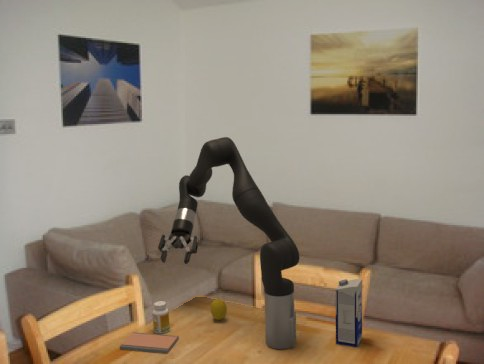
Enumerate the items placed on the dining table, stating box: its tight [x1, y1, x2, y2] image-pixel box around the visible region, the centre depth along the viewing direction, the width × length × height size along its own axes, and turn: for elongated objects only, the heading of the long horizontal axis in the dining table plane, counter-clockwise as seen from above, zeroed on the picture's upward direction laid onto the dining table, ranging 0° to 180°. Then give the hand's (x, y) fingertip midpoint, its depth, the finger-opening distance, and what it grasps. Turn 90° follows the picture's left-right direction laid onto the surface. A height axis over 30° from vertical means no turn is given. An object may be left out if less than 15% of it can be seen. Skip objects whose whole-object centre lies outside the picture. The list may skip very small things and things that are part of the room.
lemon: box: [210, 298, 228, 321], centre depth 192 cm, size 6×6×8 cm
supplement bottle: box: [151, 300, 171, 335], centre depth 186 cm, size 5×5×10 cm
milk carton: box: [335, 278, 363, 348], centre depth 172 cm, size 7×7×20 cm
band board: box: [119, 332, 180, 354], centre depth 177 cm, size 16×10×1 cm, turn 76°
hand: (174, 262), depth 197 cm, fingers open, 8 cm apart
